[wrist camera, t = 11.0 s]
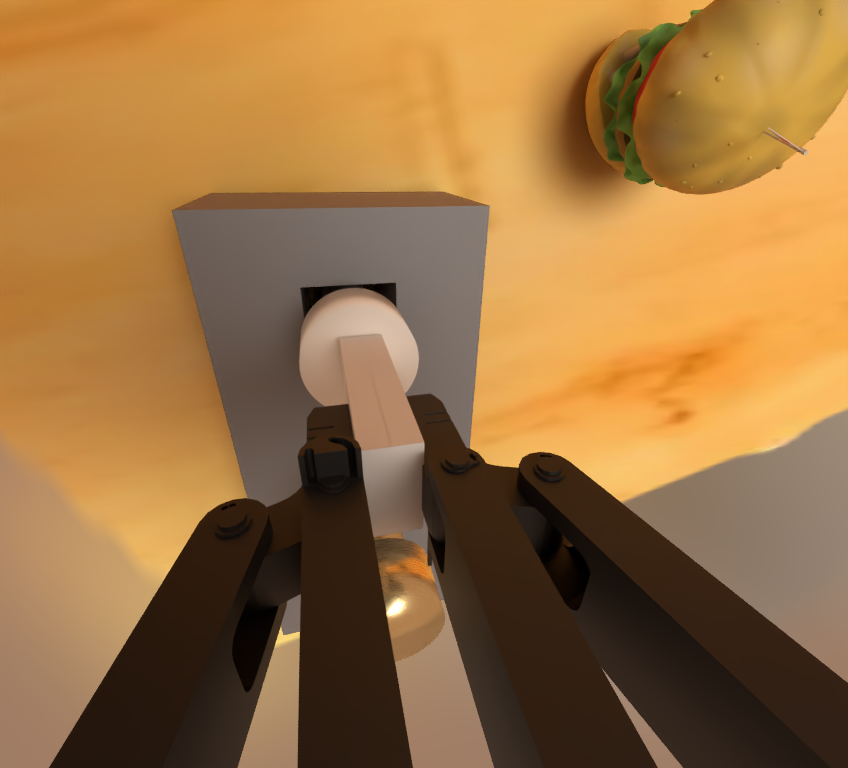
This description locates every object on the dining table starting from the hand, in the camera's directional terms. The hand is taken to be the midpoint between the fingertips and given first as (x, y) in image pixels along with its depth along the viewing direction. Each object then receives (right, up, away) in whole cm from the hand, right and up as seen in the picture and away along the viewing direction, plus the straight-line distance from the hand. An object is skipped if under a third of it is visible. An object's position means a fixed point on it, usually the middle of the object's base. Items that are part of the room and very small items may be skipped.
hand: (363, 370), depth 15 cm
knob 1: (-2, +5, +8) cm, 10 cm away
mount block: (-3, -2, +13) cm, 13 cm away
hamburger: (+13, +15, +8) cm, 21 cm away
